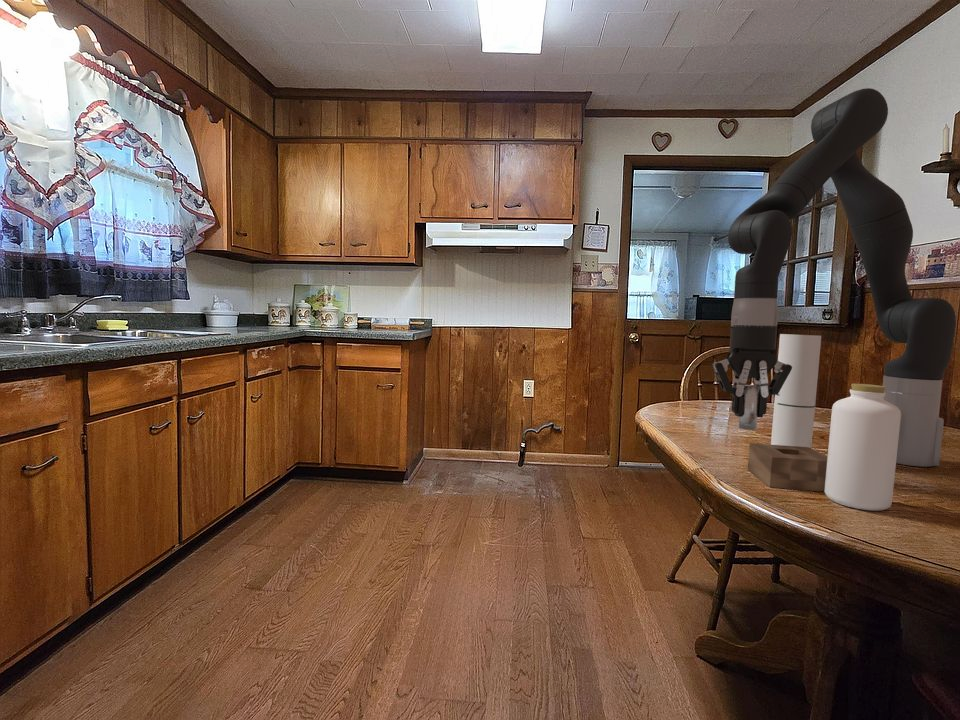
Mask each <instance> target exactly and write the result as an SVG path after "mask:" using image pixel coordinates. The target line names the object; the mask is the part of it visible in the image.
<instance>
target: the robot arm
mask: <svg viewBox="0 0 960 720" xmlns="http://www.w3.org/2000/svg"><path fill="white" fill-rule="evenodd" d="M888 115H889V108H888V103H887V100H886V98H885V97H884V95H883V94H882V93H881V92H880V91H878V90H877V89H874V88H869V87H867V88H861V89H858V90H855V91H852V92H850V93H849V94H846V95H844V96H843V97H840V98H838V99H837V100H835V101H833V102H831V103H829V104H827V105H826V106H823V107H822V108H820V109H819V110H818V111H816V112H815V113H814V115H813V117H812V119H811V125H810V132H811V137H812V140H813V143H814V146H813V147H811V148H810V149H809V150H808V151H807V152H805V153H804V154H803V155H801V156H800V157H799V158H797V159H796V160H795V161H794V162H793V163H792V164H790V166H789V167H788V168H787V169H785V170H784V172H783V173H781V175H780V176H779V177H778V179H777V180H775V182H774V183H773V184H772V186H771V187H770V188H769V189H768V191H767V192H766V193H765V194H764V195H763V196H762V197H760V198H758V199H757V200H756V201H755V202H753V203H752V204H750V206H748V207H747V208H746V209H745V210H743V212H742V213H740V214H739V215H738V216H737V217H736V218H735V219H734V220H733V222H732V223H731V226H730V228H729V231H728V234H727V242H728V246H729V247H730V249H732V251H733V252H735V253H738V254H741V255H751V254H754V255H753V259H752V260H751V262H750V263H749V264H747V265H745V266H743V267H741V268H739V269H738V270H737V271H736V273H735V278H734V292H733V294H734V295H733V303H732V308H731V309H732V310H731V320H730V337H729V339H730V340H729V352H728V354H727V356H726V358H725V359H723V360H719V361H713V362H712V364H711V367H712V368H713V372H714V374H715V376H716V378H717V381H718V384H719V386H720V388H721V391H723V392H726V393H727V394H731V396H732V397H731V412H732V413H733V414H734V416H735V417H736V418H737V417H738V418H739V417H742V415H743V398H744V397H742V394H743V390H744V386H745V385H747V382H748V380H749V379H753V382H754V384H755V386H759V400H758V417H757V418H761V419H762V418H763V417H764V415H766V414H767V407H768V405H767V404H768V398H769V397H770V396H773V395H774V396H775V394H778V393H779V391H780V390H781V388H782V386H783V384H784V382H785V380H786V379H787V377H788V375H789V373H790V371H791V370H792V366H791V365H788V364H784V363H782V362H780V361H778V357H777V356H776V355H777V354H776V346H777V334H778V333H777V331H778V323H779V317H778V315H779V309H778V291H779V290H778V289H779V275H780V273H781V270H782V267H783V265H784V263H785V259H786V257H787V253H788V251H789V248H790V245H791V242H792V238H793V225H792V221H791V220H794V219H795V218H797V217H798V216H799V215H800V214H801V213H802V212H803V211H804V210H805V209H806V207H807V206H808V204H809V203H810V202H811V201H812V200H813V198H814V197H815V196H816V194H817V193H818V192H819V190H821V188H822V187H823V186H824V185H825V184H826V182H827V181H828V180H829V179H831V181H832V182H833V185H834V188H835V190H836V193H837V195H838V197H839V200H840V202H841V205H842V208H843V210H844V213H845V216H846V219H847V223H848V227H849V229H850V232H851V234H852V237H853V241H854V243H855V246H856V248H857V250H858V253H859V255H860V259H861V262H862V265H863V270H864V272H865V275H866V279H867V280H868V281H867V282H868V284H869V288H870V291H871V296H872V301H873V306H874V310H875V314H876V320H877V323H878V326H879V328H880V331H881V333H882V334H883V335H884V337H885V338H886V339H887V340H889V341H891V342H893V343H898V344H906V346H905V350H904V351H903V353H902V354H901V355H900V356H899V357H897V358H895V359H892V360H889V361H887V362H886V363H885V365H884V367H883V368H884V370H883V379H882V380H883V381H882V386H884V387H885V390H884V392H886V394H885V396H884V400H885V401H887V402H889V403H891V404H893V405H895V406H896V407H898V409H899V410H900V412H901V420H900V429H899V439H898V449H897V458H896V464H898V465H905V466H911V467H912V466H913V467H940V459H941V450H942V443H943V442H942V441H943V433H944V432H943V431H944V423H945V422H944V421H945V420H944V418H942V417H940V410H941V409H940V408H941V400H942V399H941V398H942V388H943V379H944V373H945V371H946V370H947V368H948V366H949V364H950V362H951V356H952V351H953V346H954V339H955V334H956V329H957V327H956V326H957V317H956V312H955V309H954V307H953V306H952V304H951V303H950V302H949V301H947V299H944V298H939V297H918V298H917V297H916V298H914V297H913V295H912V293H911V290H910V288H909V285H908V282H907V277H906V263H907V260H908V257H909V254H910V250H911V246H912V244H913V238H914V228H913V225H912V222H911V218H910V216H909V212H908V210H907V209H908V208H907V206H906V204H905V201H904V200H903V198H902V197H901V196H900V194H899V193H898V192H896V191H895V189H893V188H892V187H891V186H889V185H887V184H886V183H885V182H884V181H882V180H880V179H879V178H878V177H876V176H875V175H874V174H872V173H871V172H870V171H869V170H868V169H867V168H866V167H865V166H864V164H863V163H862V161H861V159H860V157H859V154H858V153H857V152H858V151H859V149H860V148H862V147H863V146H864V145H865V144H866V143H867V142H869V141H871V140H872V139H873V138H874V137H875V136H876V135H877V134H878V133H879V132H880V131H881V130H882V129H883V127H884V126H885V124H886V122H887V119H888ZM728 366H729V367H730V368H731V370H732V371H733V372H734V375H733V378H732V382H733V383H732V384H731V382H730V380H729V376H728V374H727V373H726V372H727V371H728ZM773 368H774V369H773ZM772 369H773V372H775V373H774V375H773V377H772V379H771V380H770V382H769V378H768V374H769V373H770V372H771V371H772Z"/></svg>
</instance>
